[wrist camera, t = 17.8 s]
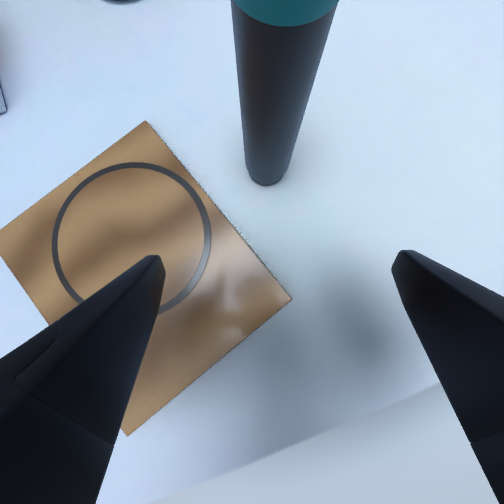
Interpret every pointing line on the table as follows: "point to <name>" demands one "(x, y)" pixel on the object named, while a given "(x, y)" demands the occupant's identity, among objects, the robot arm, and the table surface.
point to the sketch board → (136, 248)
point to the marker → (276, 75)
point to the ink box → (2, 103)
